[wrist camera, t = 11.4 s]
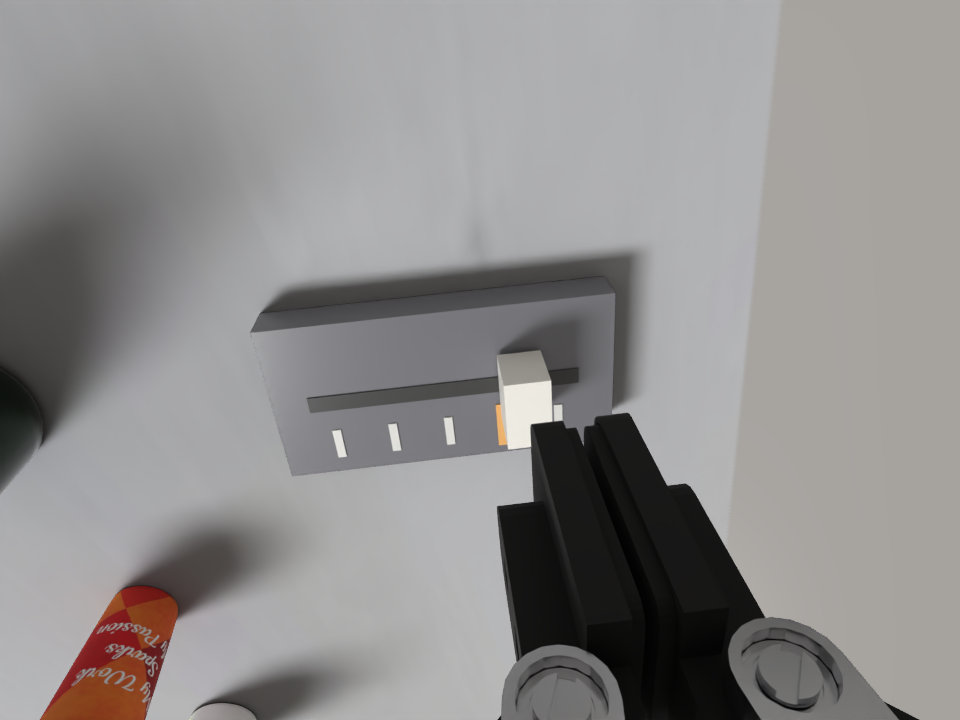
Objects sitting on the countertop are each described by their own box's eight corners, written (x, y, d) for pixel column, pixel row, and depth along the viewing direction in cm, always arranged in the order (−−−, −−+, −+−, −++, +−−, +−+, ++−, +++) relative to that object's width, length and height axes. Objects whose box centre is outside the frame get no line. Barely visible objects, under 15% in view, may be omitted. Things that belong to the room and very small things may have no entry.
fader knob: (496, 354, 43) (503, 386, 39) (540, 350, 43) (551, 380, 39) (501, 415, 45) (508, 449, 42) (542, 410, 45) (552, 444, 42)
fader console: (260, 313, 43) (249, 333, 41) (603, 276, 44) (615, 293, 41) (298, 451, 49) (291, 477, 47) (601, 416, 50) (611, 439, 47)
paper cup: (208, 604, 57) (151, 768, 44) (158, 646, 59) (91, 813, 47) (130, 562, 53) (45, 727, 41) (80, 609, 56) (-15, 778, 43)
